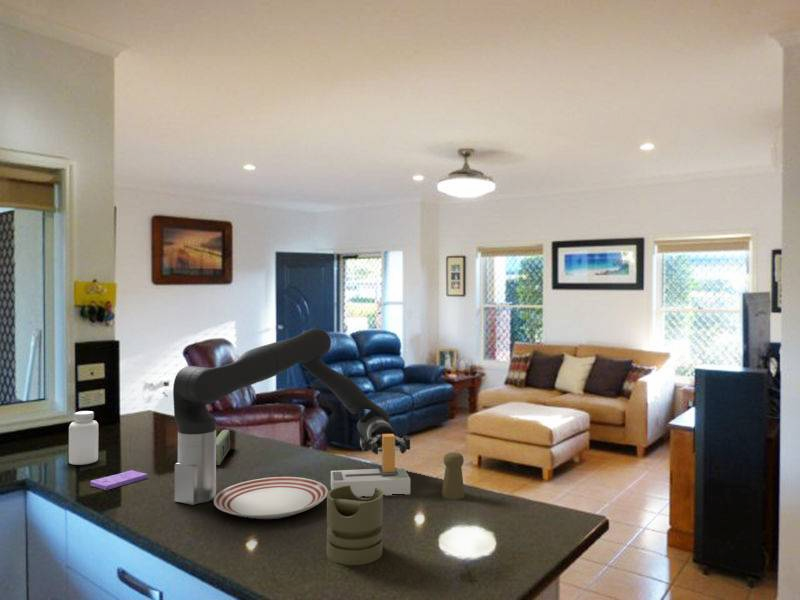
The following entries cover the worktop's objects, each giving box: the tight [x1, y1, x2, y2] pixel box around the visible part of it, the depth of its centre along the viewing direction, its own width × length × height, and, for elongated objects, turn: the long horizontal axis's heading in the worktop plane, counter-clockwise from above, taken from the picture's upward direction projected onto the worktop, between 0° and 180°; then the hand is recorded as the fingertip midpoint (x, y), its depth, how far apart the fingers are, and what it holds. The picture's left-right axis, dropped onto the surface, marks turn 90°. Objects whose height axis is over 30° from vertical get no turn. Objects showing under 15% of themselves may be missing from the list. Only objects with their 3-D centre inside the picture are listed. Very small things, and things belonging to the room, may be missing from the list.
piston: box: [326, 485, 384, 566], centre depth 125 cm, size 11×12×11 cm
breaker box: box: [330, 467, 411, 498], centre depth 163 cm, size 20×10×4 cm, turn 100°
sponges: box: [89, 469, 148, 491], centre depth 168 cm, size 7×13×2 cm, turn 148°
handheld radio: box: [216, 429, 231, 466], centre depth 191 cm, size 7×3×25 cm
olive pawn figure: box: [441, 452, 466, 501], centre depth 160 cm, size 6×6×11 cm
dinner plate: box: [213, 476, 329, 520], centre depth 151 cm, size 28×27×3 cm
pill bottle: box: [68, 410, 99, 466], centre depth 186 cm, size 8×8×15 cm
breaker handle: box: [378, 434, 398, 475], centre depth 164 cm, size 4×4×10 cm
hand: (390, 450), depth 162 cm, fingers open, 6 cm apart
